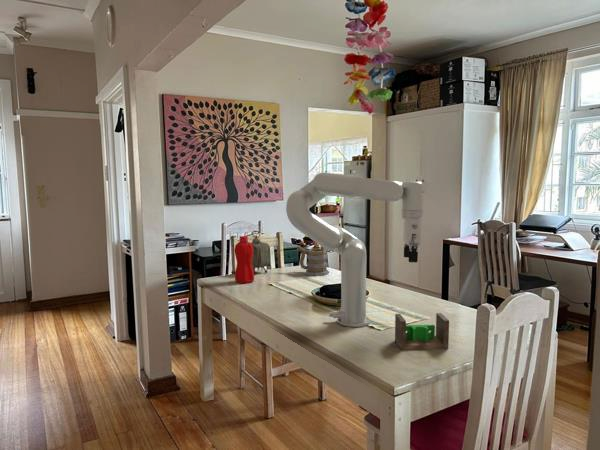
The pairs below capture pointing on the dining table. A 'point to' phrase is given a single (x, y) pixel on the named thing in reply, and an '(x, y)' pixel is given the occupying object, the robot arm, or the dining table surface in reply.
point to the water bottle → (244, 261)
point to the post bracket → (433, 343)
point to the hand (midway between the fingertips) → (410, 259)
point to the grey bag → (260, 253)
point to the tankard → (314, 261)
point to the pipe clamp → (420, 332)
